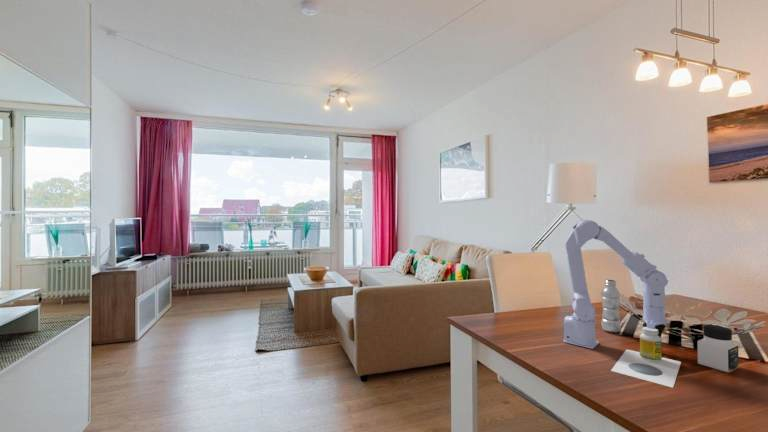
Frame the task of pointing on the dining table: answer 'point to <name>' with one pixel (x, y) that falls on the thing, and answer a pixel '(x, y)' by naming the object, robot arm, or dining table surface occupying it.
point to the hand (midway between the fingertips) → (654, 346)
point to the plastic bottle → (610, 307)
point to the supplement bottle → (650, 345)
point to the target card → (648, 368)
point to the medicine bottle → (718, 348)
